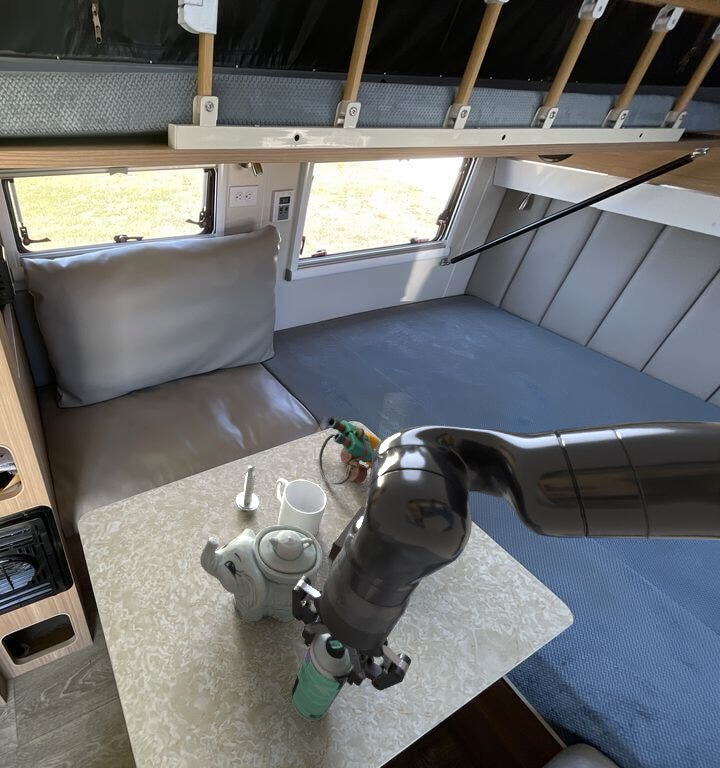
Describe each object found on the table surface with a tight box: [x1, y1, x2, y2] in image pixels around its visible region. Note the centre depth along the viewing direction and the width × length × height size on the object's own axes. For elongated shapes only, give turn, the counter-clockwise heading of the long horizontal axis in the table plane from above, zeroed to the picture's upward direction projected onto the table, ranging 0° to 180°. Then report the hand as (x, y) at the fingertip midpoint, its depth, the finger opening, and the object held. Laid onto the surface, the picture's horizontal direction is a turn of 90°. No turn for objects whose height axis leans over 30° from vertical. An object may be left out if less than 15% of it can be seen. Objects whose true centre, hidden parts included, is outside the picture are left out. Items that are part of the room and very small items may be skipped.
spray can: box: [291, 633, 354, 722], centre depth 55 cm, size 6×6×20 cm
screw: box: [235, 465, 259, 513], centre depth 85 cm, size 13×5×5 cm
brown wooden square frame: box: [327, 505, 366, 562], centre depth 78 cm, size 12×12×5 cm
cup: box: [274, 478, 328, 538], centre depth 83 cm, size 8×12×10 cm
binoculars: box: [318, 416, 380, 486], centre depth 94 cm, size 14×14×15 cm
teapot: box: [199, 524, 324, 623], centre depth 68 cm, size 16×15×19 cm
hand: (330, 657), depth 52 cm, fingers closed on spray can, 5 cm apart
